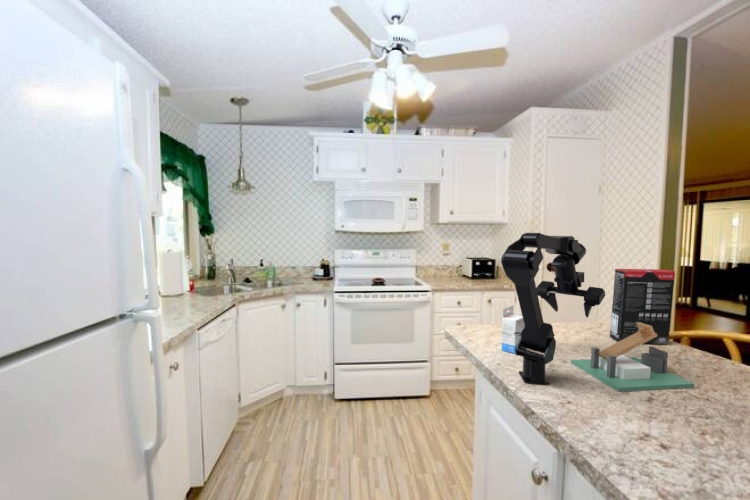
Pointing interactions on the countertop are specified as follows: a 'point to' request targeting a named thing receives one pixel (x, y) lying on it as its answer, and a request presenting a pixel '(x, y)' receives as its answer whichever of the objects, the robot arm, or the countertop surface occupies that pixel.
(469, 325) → the countertop surface
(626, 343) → the strip
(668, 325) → the graphics card box
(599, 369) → the socket board
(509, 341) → the ink box
